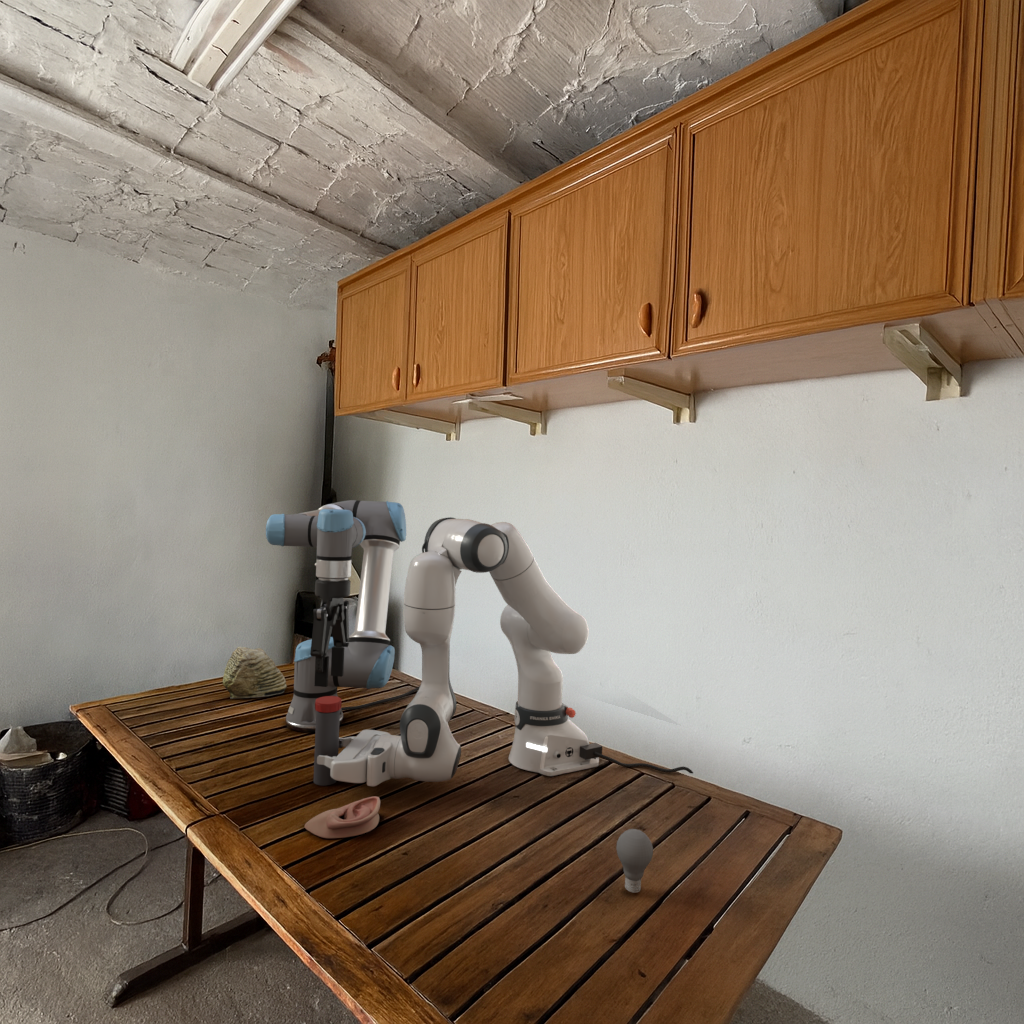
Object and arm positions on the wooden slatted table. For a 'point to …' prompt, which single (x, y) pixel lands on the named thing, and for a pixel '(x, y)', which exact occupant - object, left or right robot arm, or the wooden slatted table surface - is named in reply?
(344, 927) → the wooden slatted table surface
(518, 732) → the right robot arm
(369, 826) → the anatomical model
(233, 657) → the fossil
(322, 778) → the jar
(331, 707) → the lid
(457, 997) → the wooden slatted table surface
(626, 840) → the light bulb
